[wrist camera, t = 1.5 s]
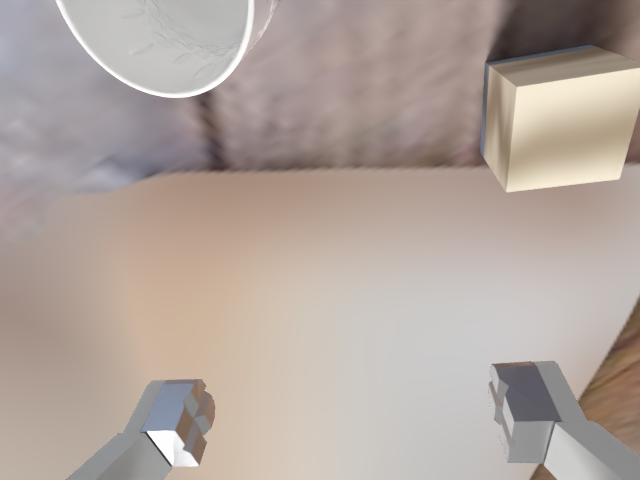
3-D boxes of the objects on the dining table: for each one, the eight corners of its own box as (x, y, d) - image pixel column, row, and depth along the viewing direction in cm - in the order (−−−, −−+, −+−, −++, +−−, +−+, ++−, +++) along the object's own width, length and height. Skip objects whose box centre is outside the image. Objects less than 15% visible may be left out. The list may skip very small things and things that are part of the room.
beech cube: (484, 62, 24) (516, 87, 20) (589, 44, 23) (651, 65, 19) (480, 151, 28) (506, 192, 23) (571, 139, 27) (619, 179, 22)
